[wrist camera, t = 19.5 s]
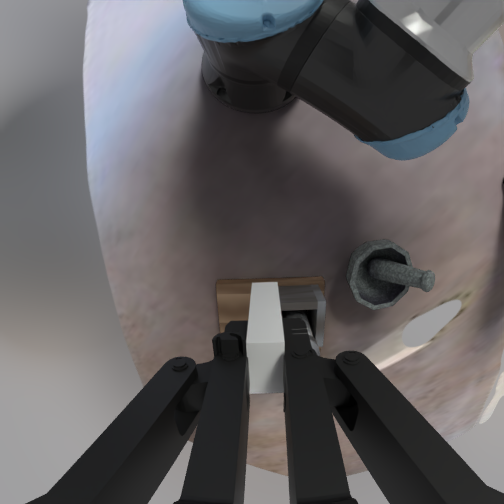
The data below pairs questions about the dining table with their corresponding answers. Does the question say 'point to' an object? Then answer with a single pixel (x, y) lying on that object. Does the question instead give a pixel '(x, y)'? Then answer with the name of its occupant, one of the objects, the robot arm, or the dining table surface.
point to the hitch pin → (303, 316)
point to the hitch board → (290, 294)
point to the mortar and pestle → (384, 274)
